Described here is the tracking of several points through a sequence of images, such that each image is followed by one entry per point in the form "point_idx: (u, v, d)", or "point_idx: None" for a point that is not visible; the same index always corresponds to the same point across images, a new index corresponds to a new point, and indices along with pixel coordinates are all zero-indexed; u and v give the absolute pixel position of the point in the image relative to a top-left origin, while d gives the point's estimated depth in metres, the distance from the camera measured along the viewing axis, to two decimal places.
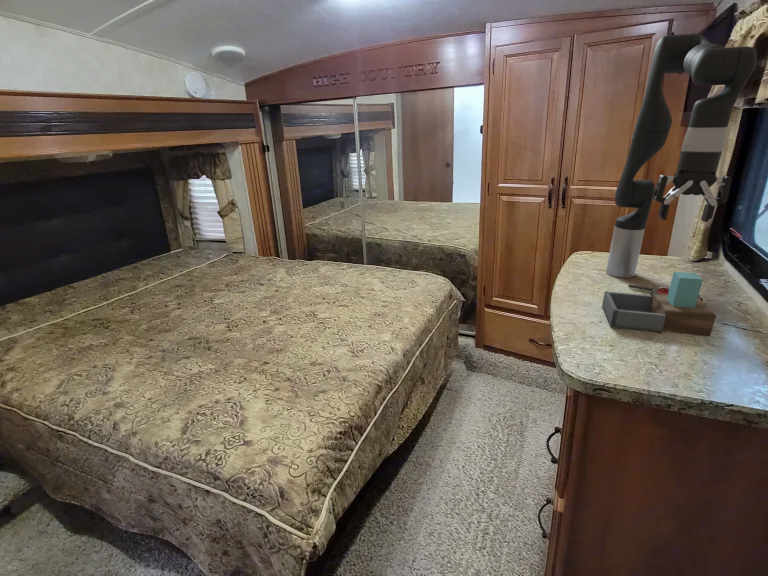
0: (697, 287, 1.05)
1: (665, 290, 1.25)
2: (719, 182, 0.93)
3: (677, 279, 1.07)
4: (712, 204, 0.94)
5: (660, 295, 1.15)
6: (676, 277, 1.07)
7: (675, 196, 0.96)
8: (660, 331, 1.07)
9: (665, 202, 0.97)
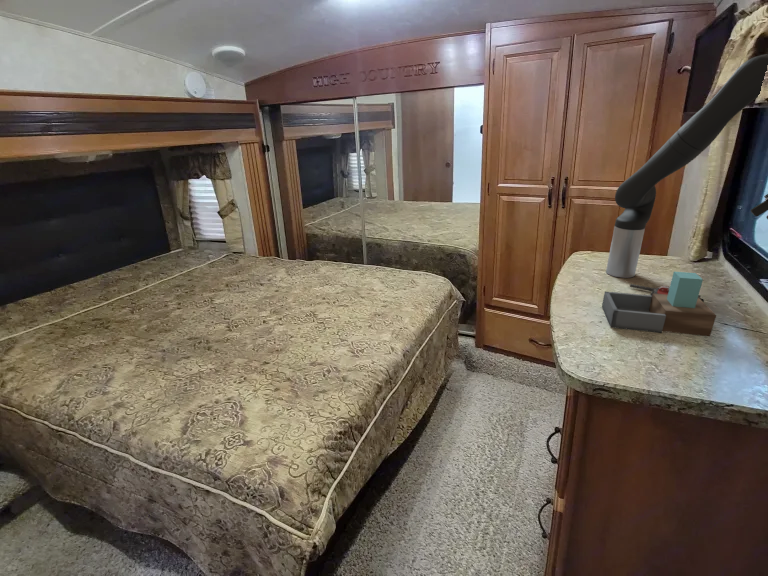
0: (697, 287, 1.05)
1: (665, 290, 1.25)
2: None
3: (677, 279, 1.07)
4: None
5: (660, 295, 1.15)
6: (676, 277, 1.07)
7: None
8: (660, 331, 1.07)
9: None
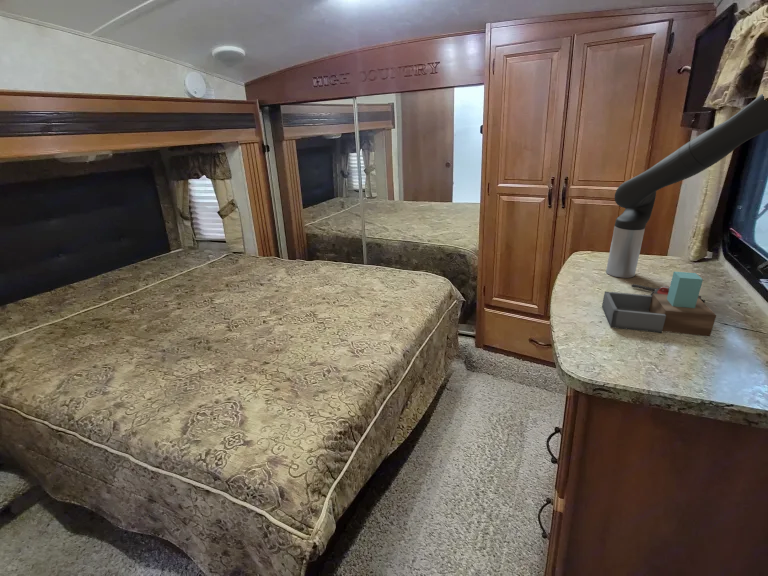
0: (697, 287, 1.05)
1: (665, 290, 1.25)
2: None
3: (677, 279, 1.07)
4: None
5: (660, 295, 1.15)
6: (676, 277, 1.07)
7: None
8: (660, 331, 1.07)
9: None
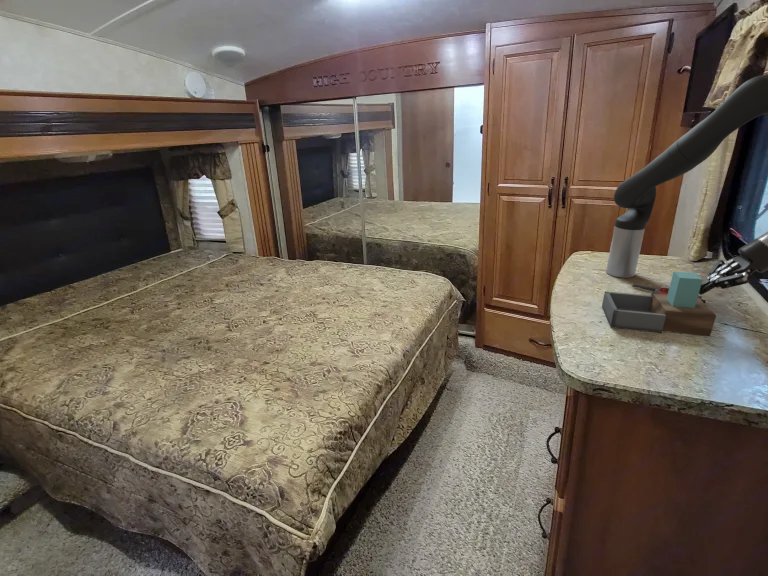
0: (697, 287, 1.05)
1: (666, 290, 1.25)
2: None
3: (677, 279, 1.07)
4: None
5: (660, 295, 1.15)
6: (676, 277, 1.07)
7: None
8: (660, 331, 1.07)
9: None
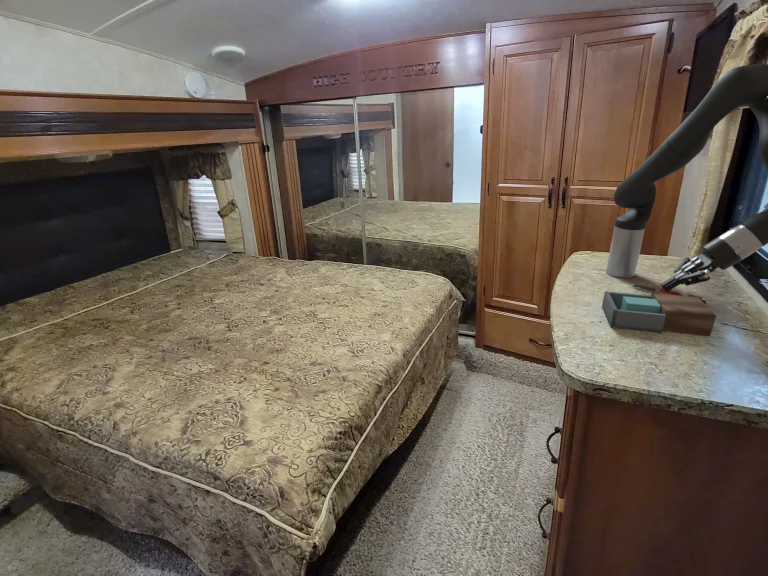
0: (635, 306, 1.11)
1: None
2: None
3: None
4: None
5: (660, 295, 1.15)
6: None
7: None
8: (660, 331, 1.07)
9: None
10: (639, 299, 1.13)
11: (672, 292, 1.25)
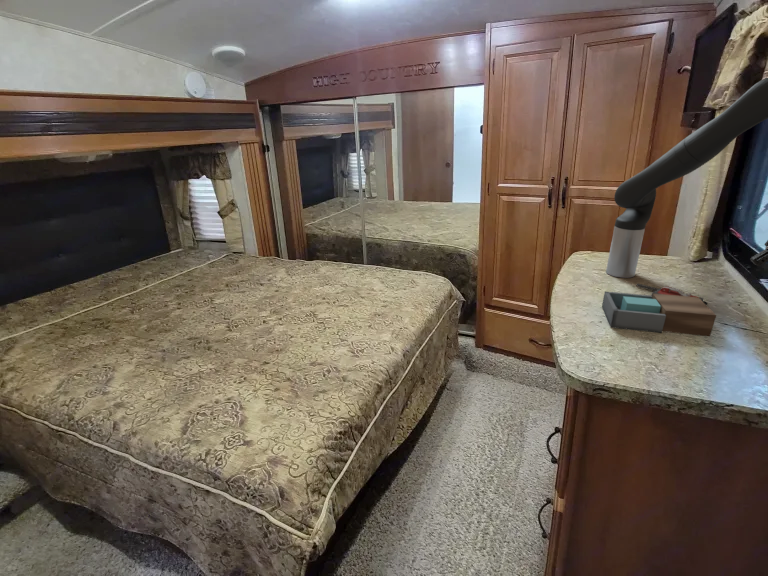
0: (635, 306, 1.11)
1: (666, 290, 1.25)
2: None
3: None
4: None
5: (660, 295, 1.15)
6: None
7: None
8: (660, 331, 1.07)
9: None
10: (639, 299, 1.13)
11: (673, 293, 1.25)
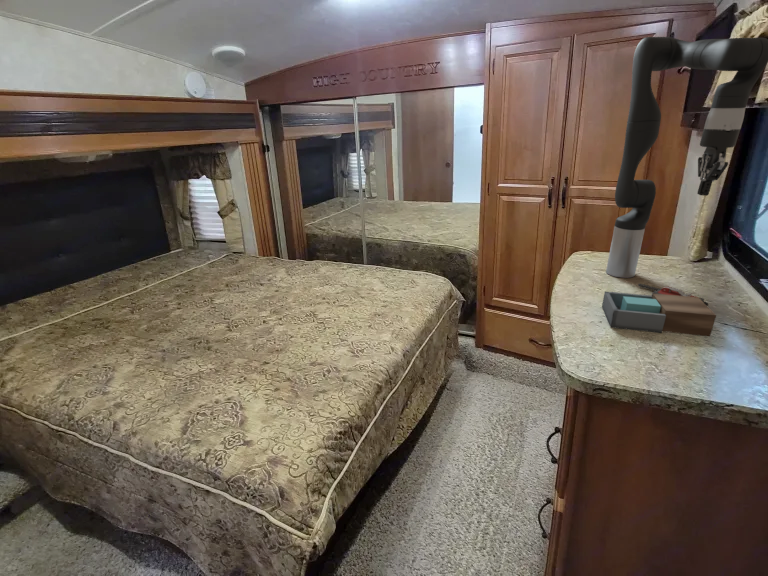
0: (635, 306, 1.11)
1: (667, 290, 1.25)
2: None
3: None
4: None
5: (660, 295, 1.15)
6: None
7: None
8: (660, 331, 1.07)
9: (714, 179, 1.10)
10: (639, 299, 1.13)
11: (673, 293, 1.25)
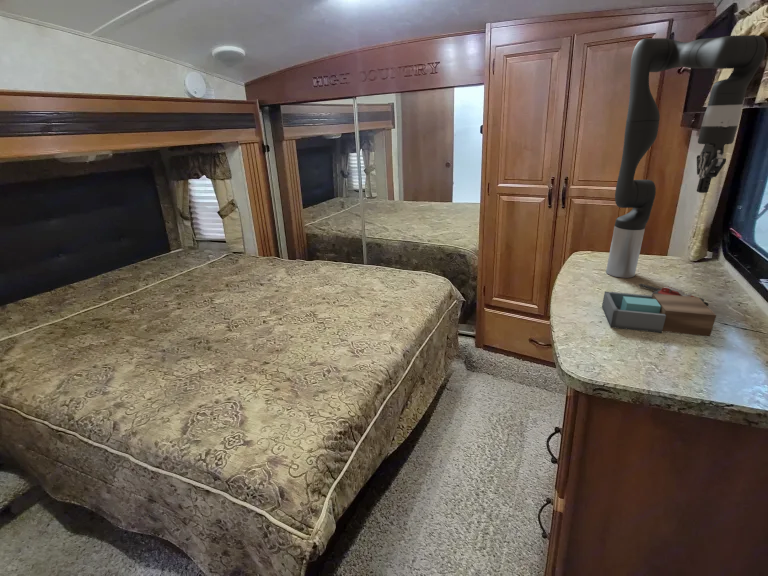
0: (635, 306, 1.11)
1: (667, 290, 1.25)
2: None
3: None
4: None
5: (660, 295, 1.15)
6: None
7: None
8: (660, 331, 1.07)
9: (713, 176, 1.10)
10: (639, 299, 1.13)
11: (674, 293, 1.25)
